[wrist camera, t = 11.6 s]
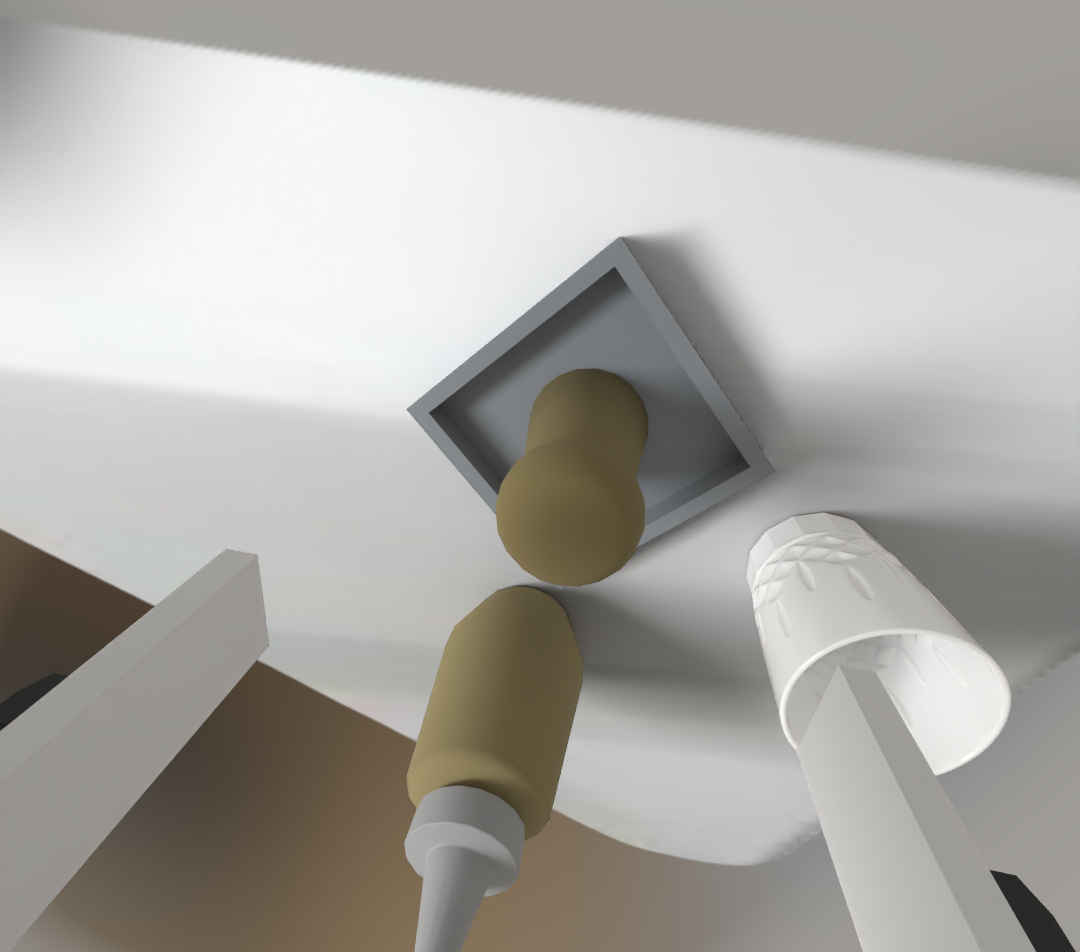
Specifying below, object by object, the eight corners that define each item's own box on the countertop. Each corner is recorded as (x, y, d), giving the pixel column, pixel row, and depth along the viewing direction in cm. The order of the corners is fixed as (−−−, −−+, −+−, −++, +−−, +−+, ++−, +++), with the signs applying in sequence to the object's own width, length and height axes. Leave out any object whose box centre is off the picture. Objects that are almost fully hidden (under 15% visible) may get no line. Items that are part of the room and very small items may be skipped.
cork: (517, 379, 27) (451, 466, 17) (639, 357, 25) (646, 436, 15) (542, 488, 29) (497, 621, 19) (656, 473, 28) (672, 607, 18)
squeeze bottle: (612, 646, 34) (597, 1032, 17) (508, 686, 36) (410, 1051, 20) (544, 548, 31) (453, 884, 15) (438, 598, 34) (265, 928, 18)
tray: (423, 395, 29) (406, 409, 26) (620, 236, 24) (619, 237, 22) (564, 564, 32) (559, 589, 29) (762, 451, 27) (775, 471, 25)
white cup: (890, 491, 27) (1023, 619, 18) (889, 616, 30) (1002, 781, 21) (727, 512, 29) (773, 639, 20) (741, 629, 32) (786, 786, 23)
